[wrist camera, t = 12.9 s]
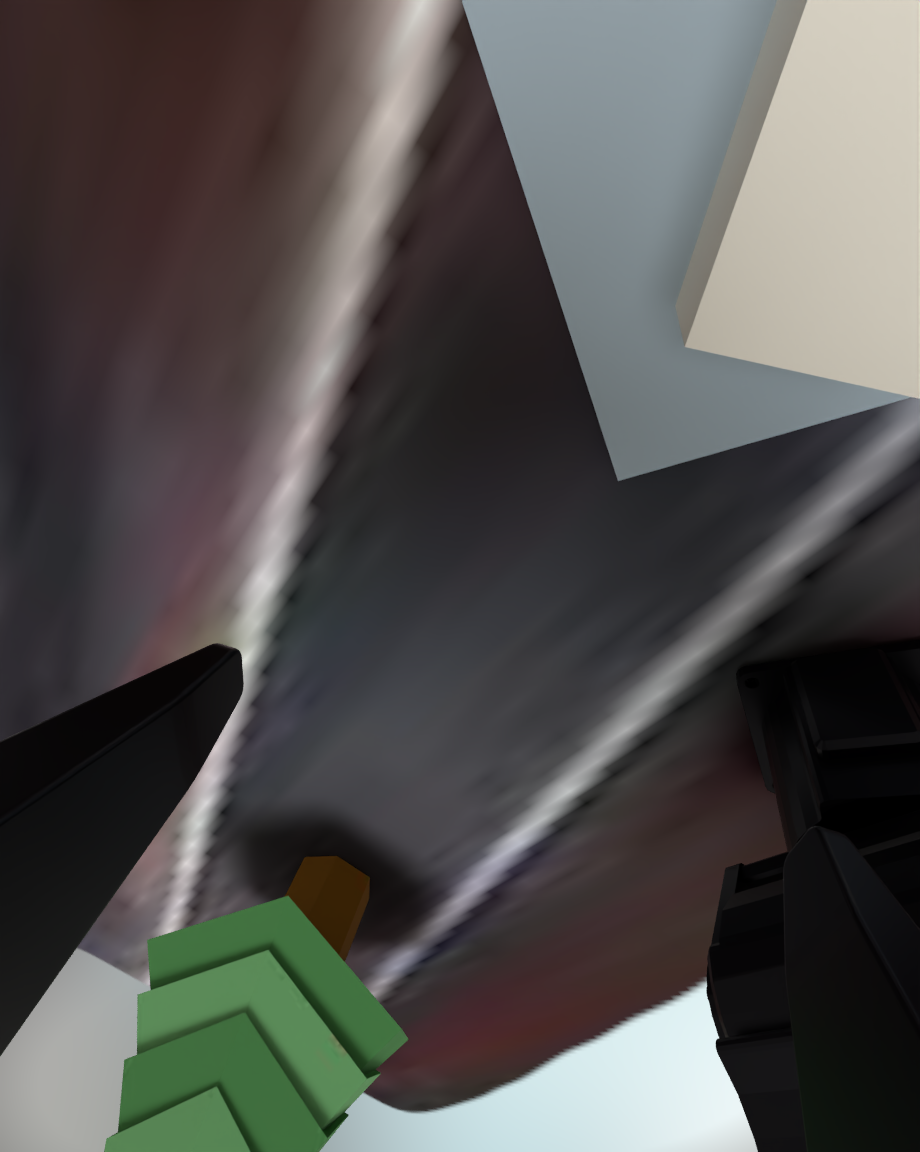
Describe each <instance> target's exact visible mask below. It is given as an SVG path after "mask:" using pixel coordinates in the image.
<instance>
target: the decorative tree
mask: <svg viewBox="0 0 920 1152" xmlns="http://www.w3.org/2000/svg"><path fill="white" fill-rule="evenodd" d="M369 884H370V877H368V876H367V875H365V874H364V873H362V872H361V871H359V870H358V869H356V868H354V867H353V866H351V865H350V864H348V863H347V862H345V861H344V860H342V859H341V858H339V857H338V856H320V857H305V858H304V860H303V862H302V863H301V865H300V867H299V869H298V871H297V873H296V875H295V877H294V879H293V881H292V883H291V885H290V887H289V889H288V891H287V893H286V895H285V897H283V898H279V899H276V900H273V901H270V902H267V903H263V904H260V905H257V906H254V907H251V908H248V909H244V910H241V911H238V912H235V913H232V914H229V915H225V916H222V917H219V918H216V919H213V920H209V921H206V922H203V923H200V924H197V925H194V926H190V927H187V928H184V929H181V930H178V931H175V932H171V933H168V934H165V935H162V936H159V937H156V938H152V939H149V940H147V943H148V957H149V972H150V986H151V990H150V991H147V992H144V993H142V994H139V995H138V1016H137V1019H138V1022H137V1055H136V1056H133V1057H131V1058H128V1059H126V1060H124V1072H123V1082H122V1094H121V1104H120V1117H119V1127H118V1133H116V1134H114V1135H112V1136H111V1137H109V1138H107V1139H106V1145H105V1151H104V1152H319V1151H320V1150H321V1149H322V1147H323V1146H324V1145H325V1144H326V1143H327V1141H328V1140H329V1139H330V1138H331V1136H332V1135H333V1134H334V1133H335V1131H336V1130H337V1129H338V1128H339V1126H340V1125H341V1124H342V1123H343V1121H344V1120H345V1119H346V1118H347V1117H348V1114H346V1113H345V1111H346V1110H347V1109H348V1108H349V1107H350V1106H351V1104H352V1103H353V1102H354V1101H355V1100H356V1099H357V1098H358V1097H359V1096H360V1095H361V1094H362V1093H363V1092H364V1091H365V1090H366V1089H367V1088H368V1086H369V1085H370V1084H371V1083H372V1082H373V1081H374V1080H375V1079H376V1078H377V1077H378V1076H379V1075H380V1074H381V1073H380V1072H378V1071H377V1070H375V1069H377V1068H378V1067H379V1066H380V1065H381V1064H382V1063H383V1062H384V1061H385V1060H386V1059H388V1058H389V1057H390V1056H391V1055H392V1054H393V1053H394V1052H395V1051H396V1050H397V1049H398V1048H400V1047H401V1046H402V1045H403V1044H404V1043H405V1042H406V1041H407V1040H408V1038H407V1036H406V1035H405V1033H404V1032H403V1030H402V1029H401V1028H400V1027H399V1026H398V1024H397V1023H396V1022H395V1021H394V1020H393V1018H392V1017H391V1016H390V1015H389V1014H388V1013H387V1011H386V1010H385V1009H384V1008H383V1007H382V1006H381V1004H380V1003H379V1002H378V1001H377V1000H376V998H375V997H374V996H373V995H372V994H371V993H370V991H369V990H368V989H367V988H366V987H365V986H364V984H363V983H362V982H361V981H360V980H359V978H358V977H357V976H356V975H355V974H354V973H353V971H352V970H351V969H350V968H349V967H348V966H347V964H346V963H345V960H346V957H347V954H348V952H349V949H350V947H351V944H352V942H353V939H354V936H355V934H356V931H357V929H358V926H359V923H360V921H361V918H362V916H363V913H364V911H365V908H366V905H367V903H368V900H369Z"/></svg>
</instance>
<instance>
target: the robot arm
mask: <svg viewBox="0 0 920 1152" xmlns="http://www.w3.org/2000/svg"><path fill="white" fill-rule="evenodd" d="M748 678H756V680H754V681H747V679H748ZM736 680H737V685H738V689H739V692H740V696H741V700H742V703H743V707H744V710H745V714H746V718H747V721H748V725H749V728H750V732H751V736H752V739H753V743H754V746H755V750H756V753H757V757H758V761H759V764H760V768H761V771H762V775H763V779H764V782H765V786H766V788H767V790H769V791H770V792H772V793H775V794H776V799H777V804H778V808H779V813H780V818H781V822H782V827H783V832H784V837H785V841H786V846H787V851H788V852H785V853H782V854H779V855H775V856H772V857H769V858H766V859H763V860H760V861H757V862H754V863H750V864H747V865H744V864H742V863H740V864H737V865H734V866H730V867H727V868H726V869H725V874H724V879H723V884H722V890H721V895H720V900H719V906H718V911H717V917H716V922H715V927H714V933H713V938H712V943H711V946H710V948H709V952H708V958H707V959H708V967H707V997H708V1000H709V1003H710V1008H711V1012H712V1017H713V1020H714V1023H715V1026H716V1029H717V1033H718V1036H719V1039H717V1040H716V1049H717V1052H718V1055H719V1057H720V1059H721V1061H722V1063H723V1065H724V1067H725V1069H726V1071H727V1073H728V1075H729V1077H730V1079H731V1081H732V1083H733V1085H734V1087H735V1089H736V1091H737V1093H738V1095H739V1098H740V1101H741V1104H742V1106H743V1109H744V1112H745V1114H746V1117H747V1120H748V1123H749V1126H750V1128H751V1131H752V1133H753V1136H754V1139H755V1142H756V1146H757V1150H758V1152H920V640H918V641H912V642H905V643H898V644H891V645H884V646H878V647H871V648H864V649H857V650H851V651H844V652H837V653H830V654H823V655H817V656H810V657H803V658H796V659H790V660H783V661H776V662H769V663H763V664H756V665H749V666H745V667H742V668H741V669H739V670H738V672H737V673H736ZM243 684H244V683H243V669H242V657H241V653H240V651H239V650H237V649H236V648H232V647H229V646H226V645H223V644H218V643H216V644H212V645H209V646H207V647H205V648H203V649H200V650H198V651H196V652H194V653H192V654H189V655H187V656H185V657H183V658H181V659H179V660H176V661H174V662H172V663H170V664H168V665H165V666H163V667H161V668H159V669H157V670H155V671H152V672H150V673H148V674H146V675H144V676H141V677H139V678H137V679H135V680H133V681H131V682H128V683H126V684H124V685H122V686H120V687H117V688H115V689H113V690H111V691H109V692H107V693H104V694H102V695H100V696H98V697H96V698H93V699H91V700H89V701H87V702H85V703H83V704H80V705H78V706H76V707H74V708H72V709H69V710H67V711H65V712H63V713H61V714H59V715H56V716H54V717H52V718H50V719H48V720H45V721H43V722H41V723H39V724H37V725H35V726H32V727H30V728H28V729H26V730H24V731H21V732H19V733H17V734H15V735H13V736H11V737H8V738H6V739H4V740H2V741H0V1056H1V1055H2V1053H3V1052H4V1050H5V1049H6V1047H7V1046H8V1044H9V1043H10V1042H11V1040H12V1039H13V1038H14V1036H15V1035H16V1033H17V1032H18V1030H19V1029H20V1028H21V1026H22V1025H23V1023H24V1022H25V1020H26V1019H27V1018H28V1016H29V1015H30V1013H31V1012H32V1011H33V1009H34V1008H35V1006H36V1005H37V1003H38V1002H39V1001H40V999H41V998H42V996H43V995H44V994H45V992H46V991H47V989H48V988H49V986H50V985H51V984H52V982H53V981H54V979H55V978H56V976H57V975H58V973H59V972H60V971H61V969H62V968H63V967H64V965H65V964H66V962H67V961H68V959H69V958H70V957H71V955H72V954H73V952H74V951H75V949H76V948H77V947H78V945H79V944H80V942H81V941H82V940H83V938H84V937H85V935H86V934H87V932H88V931H89V930H90V928H91V927H92V925H93V924H94V923H95V921H96V920H97V918H98V917H99V915H100V914H101V913H102V911H103V910H104V908H105V907H106V906H107V904H108V903H109V901H110V900H111V898H112V897H113V896H114V894H115V893H116V891H117V890H118V888H119V887H120V886H121V884H122V883H123V881H124V880H125V879H126V877H127V876H128V874H129V873H130V871H131V870H132V869H133V867H134V866H135V864H136V863H137V861H138V860H139V859H140V857H141V856H142V854H143V853H144V852H145V850H146V849H147V847H148V846H149V844H150V843H151V842H152V840H153V839H154V837H155V836H156V835H157V833H158V832H159V830H160V829H161V827H162V826H163V825H164V823H165V822H166V820H167V819H168V817H169V816H170V815H171V813H172V812H173V810H174V809H175V808H176V806H177V805H178V803H179V802H180V800H181V799H182V798H183V796H184V795H185V793H186V792H187V790H188V789H189V787H190V786H191V784H192V783H193V781H194V780H195V778H196V777H197V775H198V773H199V771H200V770H201V768H202V766H203V765H204V763H205V761H206V759H207V757H208V756H209V754H210V752H211V750H212V748H213V747H214V745H215V743H216V741H217V739H218V738H219V736H220V734H221V732H222V730H223V729H224V727H225V725H226V723H227V721H228V720H229V718H230V716H231V714H232V712H233V711H234V709H235V707H236V705H237V703H238V701H239V700H240V697H241V695H242V692H243Z"/></svg>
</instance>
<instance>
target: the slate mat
mask: <svg viewBox="0 0 920 1152" xmlns="http://www.w3.org/2000/svg"><path fill="white" fill-rule="evenodd" d="M776 1H777V0H462V3H463V6H464V9H465V12H466V15H467V18H468V21H469V24H470V27H471V30H472V33H473V37H474V40H475V43H476V46H477V49H478V52H479V55H480V58H481V61H482V64H483V67H484V70H485V73H486V76H487V80H488V83H489V86H490V89H491V92H492V95H493V98H494V101H495V104H496V107H497V110H498V113H499V116H500V120H501V123H502V126H503V129H504V132H505V135H506V138H507V141H508V144H509V147H510V150H511V153H512V156H513V160H514V163H515V166H516V169H517V172H518V175H519V178H520V181H521V184H522V187H523V190H524V193H525V196H526V199H527V203H528V206H529V209H530V212H531V215H532V218H533V221H534V224H535V227H536V230H537V233H538V236H539V239H540V243H541V246H542V249H543V252H544V255H545V258H546V261H547V264H548V267H549V270H550V273H551V276H552V279H553V283H554V286H555V289H556V292H557V295H558V298H559V301H560V304H561V307H562V310H563V313H564V316H565V319H566V322H567V326H568V329H569V332H570V335H571V338H572V341H573V344H574V347H575V350H576V353H577V356H578V359H579V362H580V366H581V369H582V372H583V375H584V378H585V381H586V384H587V387H588V390H589V393H590V396H591V399H592V402H593V405H594V409H595V412H596V415H597V418H598V421H599V424H600V427H601V430H602V433H603V436H604V439H605V442H606V445H607V449H608V452H609V455H610V458H611V461H612V464H613V467H614V470H615V473H616V476H617V479H618V481H620V480H624V479H627V478H631V477H634V476H638V475H641V474H645V473H648V472H652V471H655V470H659V469H662V468H666V467H669V466H673V465H676V464H680V463H683V462H687V461H690V460H694V459H697V458H701V457H704V456H708V455H711V454H715V453H718V452H722V451H725V450H729V449H732V448H736V447H739V446H743V445H746V444H750V443H753V442H757V441H760V440H764V439H767V438H771V437H774V436H778V435H781V434H785V433H788V432H792V431H795V430H799V429H802V428H806V427H809V426H813V425H816V424H820V423H823V422H827V421H830V420H834V419H837V418H841V417H844V416H848V415H851V414H855V413H858V412H862V411H865V410H869V409H872V408H876V407H879V406H883V405H886V404H890V403H893V402H897V401H900V400H904V399H907V398H911V397H909V396H905V395H900V394H896V393H891V392H887V391H882V390H878V389H873V388H869V387H864V386H860V385H855V384H850V383H846V382H841V381H837V380H832V379H828V378H823V377H819V376H814V375H810V374H805V373H801V372H796V371H791V370H787V369H782V368H778V367H773V366H769V365H764V364H760V363H755V362H751V361H746V360H742V359H737V358H732V357H728V356H723V355H719V354H714V353H710V352H705V351H701V350H696V349H692V348H687V347H685V346H684V342H683V338H682V333H681V329H680V325H679V320H678V316H677V312H676V308H675V305H676V302H677V299H678V296H679V293H680V290H681V287H682V284H683V281H684V278H685V275H686V272H687V269H688V266H689V263H690V260H691V257H692V254H693V251H694V248H695V245H696V242H697V239H698V236H699V233H700V230H701V227H702V224H703V221H704V218H705V215H706V212H707V209H708V206H709V203H710V200H711V197H712V194H713V191H714V188H715V185H716V182H717V179H718V176H719V173H720V170H721V167H722V164H723V161H724V158H725V155H726V152H727V149H728V146H729V143H730V140H731V137H732V134H733V131H734V128H735V125H736V122H737V119H738V116H739V113H740V110H741V107H742V104H743V101H744V98H745V95H746V92H747V89H748V86H749V83H750V80H751V77H752V74H753V71H754V68H755V65H756V62H757V58H758V55H759V52H760V49H761V46H762V43H763V40H764V37H765V34H766V31H767V28H768V25H769V22H770V19H771V16H772V13H773V10H774V7H775V4H776Z"/></svg>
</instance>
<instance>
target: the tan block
mask: <svg viewBox="0 0 920 1152" xmlns="http://www.w3.org/2000/svg"><path fill="white" fill-rule="evenodd" d="M675 308H676V312H677V316H678V320H679V325H680V329H681V333H682V338H683V342H684V346H685V347H687V348H692V349H696V350H701V351H705V352H710V353H714V354H719V355H723V356H728V357H732V358H737V359H742V360H746V361H751V362H755V363H760V364H764V365H769V366H773V367H778V368H782V369H787V370H791V371H796V372H801V373H805V374H810V375H814V376H819V377H823V378H828V379H832V380H837V381H841V382H846V383H850V384H855V385H860V386H864V387H869V388H873V389H878V390H882V391H887V392H891V393H896V394H900V395H905V396H909V397H914V398H919V399H920V0H777V1H776V4H775V7H774V10H773V13H772V16H771V19H770V22H769V25H768V28H767V31H766V34H765V37H764V40H763V43H762V46H761V49H760V52H759V55H758V58H757V62H756V65H755V68H754V71H753V74H752V77H751V80H750V83H749V86H748V89H747V92H746V95H745V98H744V101H743V104H742V107H741V110H740V113H739V116H738V119H737V122H736V125H735V128H734V131H733V134H732V137H731V140H730V143H729V146H728V149H727V152H726V155H725V158H724V161H723V164H722V167H721V170H720V173H719V176H718V179H717V182H716V185H715V188H714V191H713V194H712V197H711V200H710V203H709V206H708V209H707V212H706V215H705V218H704V221H703V224H702V227H701V230H700V233H699V236H698V239H697V242H696V245H695V248H694V251H693V254H692V257H691V260H690V263H689V266H688V269H687V272H686V275H685V278H684V281H683V284H682V287H681V290H680V293H679V296H678V299H677V302H676V305H675Z"/></svg>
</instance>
